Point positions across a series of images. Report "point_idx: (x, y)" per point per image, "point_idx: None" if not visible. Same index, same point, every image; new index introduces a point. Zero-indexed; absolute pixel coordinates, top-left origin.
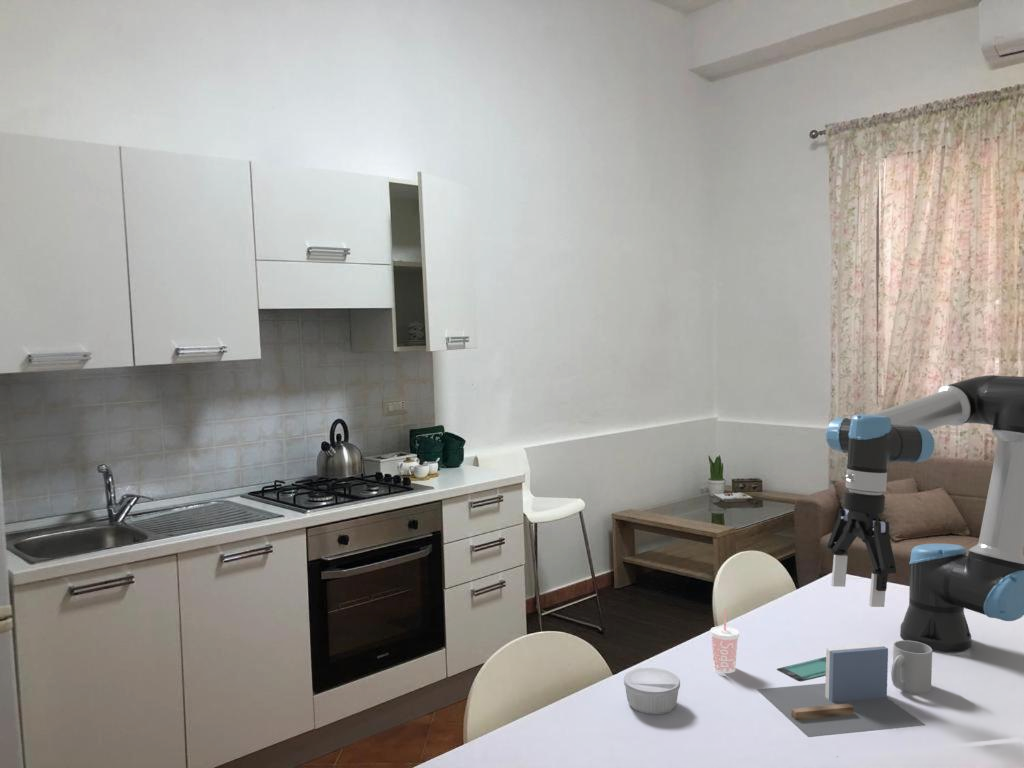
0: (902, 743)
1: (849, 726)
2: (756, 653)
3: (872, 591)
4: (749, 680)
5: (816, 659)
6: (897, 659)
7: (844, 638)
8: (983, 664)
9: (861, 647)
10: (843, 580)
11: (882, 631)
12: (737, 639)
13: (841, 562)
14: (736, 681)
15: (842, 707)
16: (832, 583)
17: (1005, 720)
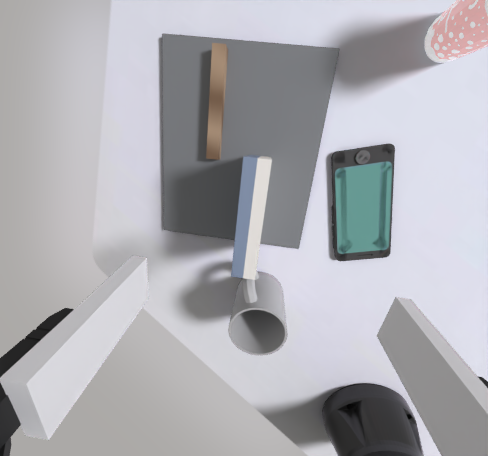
0: (136, 171)
1: (178, 126)
2: (477, 159)
3: (95, 292)
4: (386, 68)
5: (388, 234)
6: (247, 289)
7: None
8: (285, 402)
9: (251, 235)
10: (391, 349)
11: None
12: (486, 22)
13: (461, 437)
14: (395, 36)
15: (208, 140)
16: (409, 305)
17: (165, 318)
